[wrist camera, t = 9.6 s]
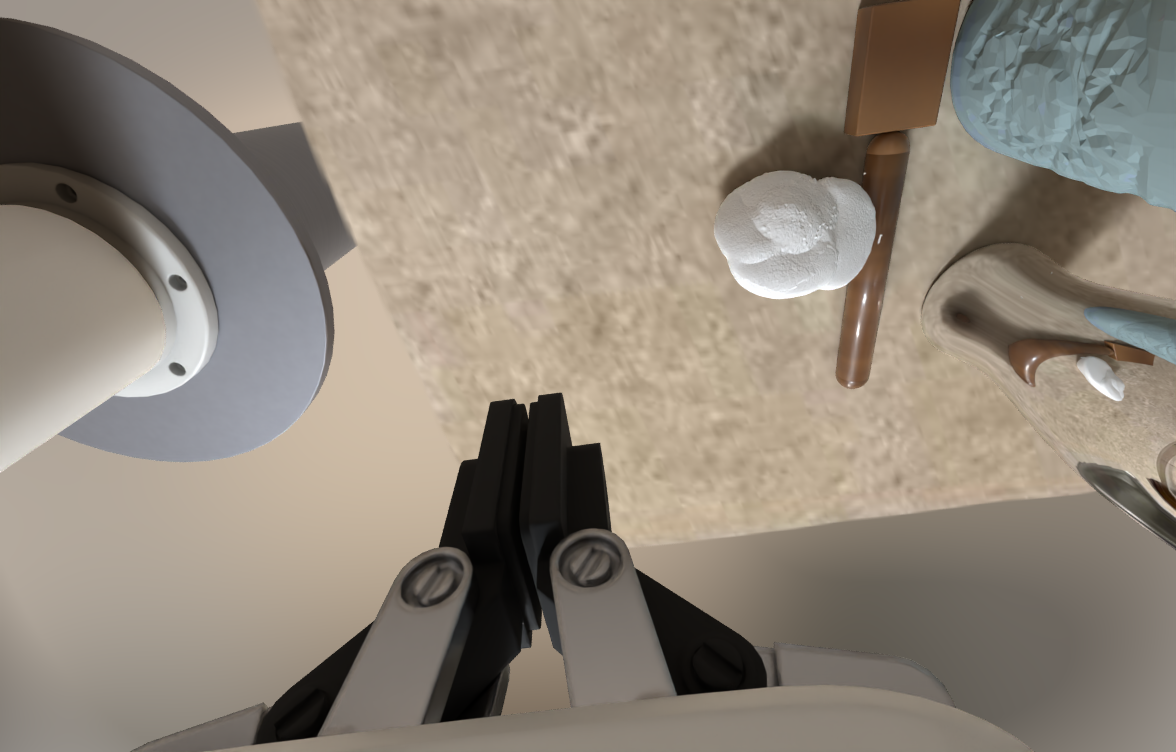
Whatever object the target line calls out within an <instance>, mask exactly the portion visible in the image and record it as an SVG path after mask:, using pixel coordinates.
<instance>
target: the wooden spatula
mask: <svg viewBox="0 0 1176 752" xmlns="http://www.w3.org/2000/svg"><path fill="white" fill-rule="evenodd" d="M960 1H961V0H903V1H897V2H891V3H884V4H878V5H872V6H868V7H864V8H860V9H859V10H858V15H857V24H856V32H855V41H854V50H853V58H852V67H851V76H850V84H849V93H848V102H847V110H846V119H845V127H844V133H845V134H849V135H853V136H863V135H870V134H877V133H880V134H878V135H877V136H876V137H874V139H873V140H872V141H871V142H870V144H869V146H868V148H867V151H866V158H865V165H864V172H863V179H862V188H863V190H864V191H865V192H867V194H868V195H869V197H870V198H871V201H872V204H873V206H874V207H875V211H876V213H875V218H876V233H875V238H874V241H873V245H872V248H871V252H870V254H869V256H868V258H867V260H866V263H865V264H864V266H863V268H862V269H861V270H860V272H859V273H858V274H857V275H856V276H855V277H854V279H853V280H851V281H850V282H849V283H848V287H847V295H846V302H845V309H844V316H843V323H842V331H841V338H840V345H839V352H838V359H837V367H836V378H837V380H838V382H839V383H840V384H841V385H842V386H844V387H846V388H850V389H855V388H859V387H861V386H863V385H864V384H865V383H866V382H867V381H868V379H869V375H870V369H871V364H872V358H873V353H874V347H875V342H876V336H877V330H878V325H879V319H880V314H881V308H882V302H883V297H884V291H885V286H886V280H887V275H888V269H889V263H890V258H891V252H892V247H893V241H894V235H895V230H896V224H897V219H898V213H899V208H900V202H901V196H902V191H903V185H904V180H905V174H906V169H907V163H908V157H909V152H910V142H909V139H908V138H907V136H906V135H905V134H904V133H902V132H900V131H899V130H906V129H913V128H920V127H927V126H934V125H936V122H937V117H938V112H939V107H940V102H941V96H942V91H943V86H944V81H945V76H946V71H947V66H948V61H949V56H950V51H951V46H952V41H953V36H954V31H955V26H956V21H957V16H958V11H959V6H960ZM864 173H866V174H865V175H864ZM880 234H882V236H881V240H880V243H878V239H879V236H880Z"/></svg>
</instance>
